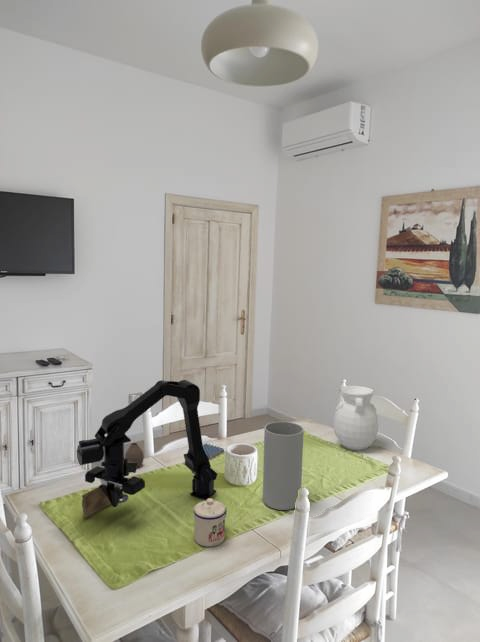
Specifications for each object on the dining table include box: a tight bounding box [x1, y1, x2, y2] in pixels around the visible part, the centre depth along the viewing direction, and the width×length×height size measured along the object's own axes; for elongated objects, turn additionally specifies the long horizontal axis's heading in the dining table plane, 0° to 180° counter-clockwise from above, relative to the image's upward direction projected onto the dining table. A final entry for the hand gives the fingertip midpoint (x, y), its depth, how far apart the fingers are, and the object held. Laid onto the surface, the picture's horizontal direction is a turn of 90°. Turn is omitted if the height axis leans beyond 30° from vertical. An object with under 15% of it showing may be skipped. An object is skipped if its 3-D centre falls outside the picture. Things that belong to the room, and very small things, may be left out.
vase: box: [124, 442, 145, 468], centre depth 182 cm, size 7×7×9 cm
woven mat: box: [202, 443, 225, 461], centre depth 196 cm, size 10×11×2 cm
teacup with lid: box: [193, 497, 228, 547], centre depth 138 cm, size 12×9×12 cm
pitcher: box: [333, 385, 379, 451], centre depth 205 cm, size 19×18×25 cm
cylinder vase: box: [262, 421, 305, 511], centre depth 157 cm, size 12×12×25 cm
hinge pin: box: [118, 492, 129, 504], centre depth 158 cm, size 5×5×7 cm
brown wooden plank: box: [81, 486, 111, 518], centre depth 151 cm, size 14×2×6 cm, turn 148°
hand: (115, 506), depth 146 cm, fingers closed
